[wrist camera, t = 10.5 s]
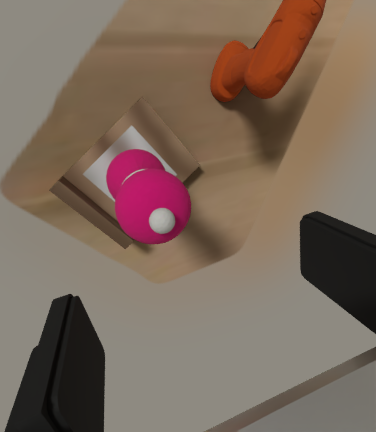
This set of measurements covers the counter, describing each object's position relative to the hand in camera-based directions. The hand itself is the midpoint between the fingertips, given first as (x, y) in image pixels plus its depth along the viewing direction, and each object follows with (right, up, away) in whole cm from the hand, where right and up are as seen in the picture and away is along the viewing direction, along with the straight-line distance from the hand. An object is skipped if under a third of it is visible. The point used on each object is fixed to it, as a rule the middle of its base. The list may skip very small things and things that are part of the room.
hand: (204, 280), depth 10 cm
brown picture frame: (-9, +9, +26) cm, 29 cm away
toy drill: (+7, +27, +25) cm, 37 cm away
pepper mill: (-8, +9, +24) cm, 27 cm away
